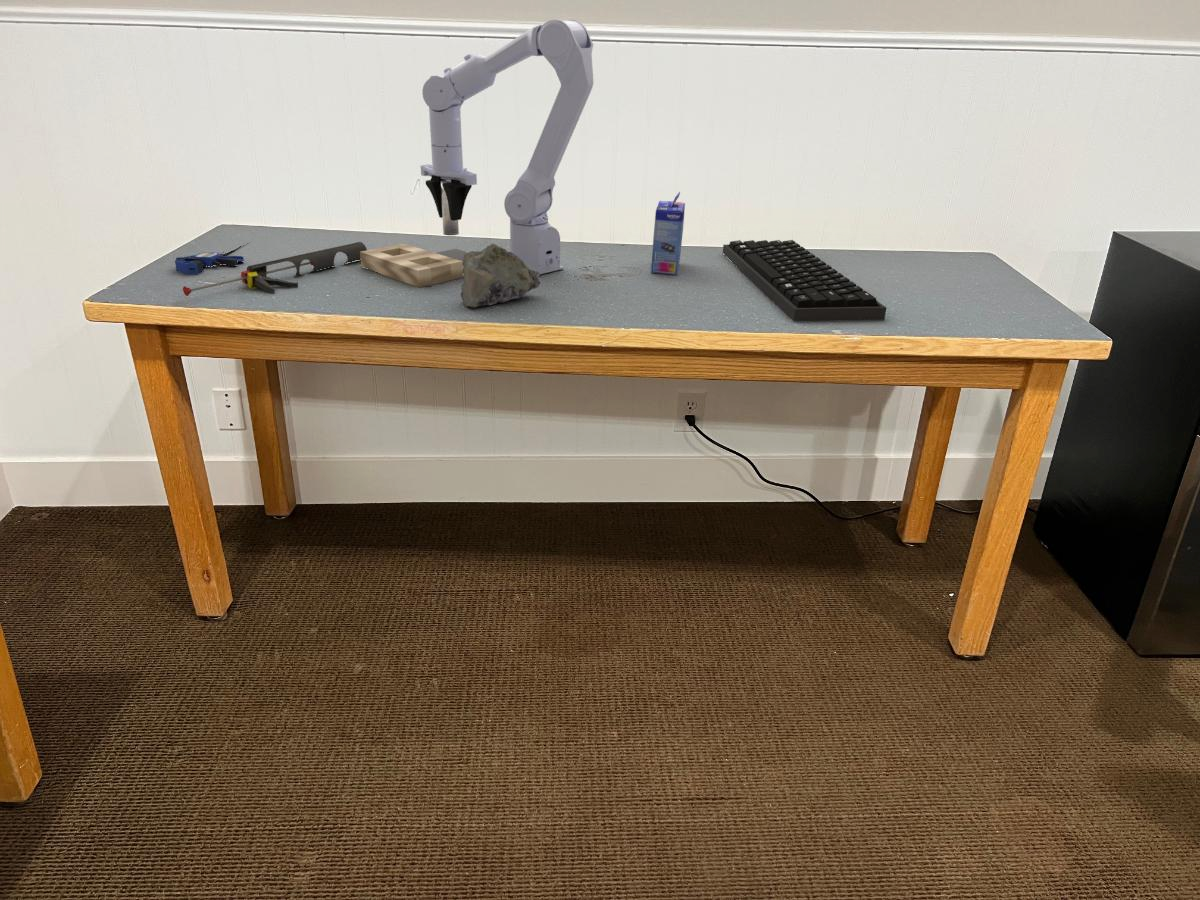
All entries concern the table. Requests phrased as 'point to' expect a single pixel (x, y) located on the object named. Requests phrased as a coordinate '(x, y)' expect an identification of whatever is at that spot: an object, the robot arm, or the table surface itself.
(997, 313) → the table surface
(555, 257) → the robot arm
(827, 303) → the computer keyboard
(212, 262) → the bar clamp
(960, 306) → the table surface
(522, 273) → the mineral rock
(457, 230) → the peg
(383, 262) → the hole block
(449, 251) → the mat
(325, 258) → the caulking gun
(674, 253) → the ink cartridge box
